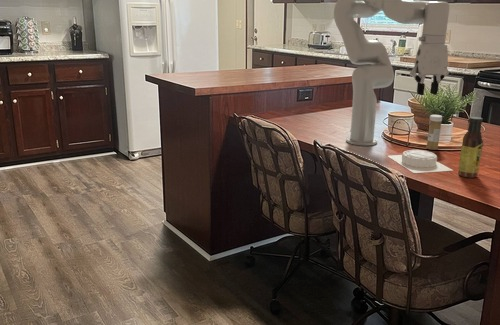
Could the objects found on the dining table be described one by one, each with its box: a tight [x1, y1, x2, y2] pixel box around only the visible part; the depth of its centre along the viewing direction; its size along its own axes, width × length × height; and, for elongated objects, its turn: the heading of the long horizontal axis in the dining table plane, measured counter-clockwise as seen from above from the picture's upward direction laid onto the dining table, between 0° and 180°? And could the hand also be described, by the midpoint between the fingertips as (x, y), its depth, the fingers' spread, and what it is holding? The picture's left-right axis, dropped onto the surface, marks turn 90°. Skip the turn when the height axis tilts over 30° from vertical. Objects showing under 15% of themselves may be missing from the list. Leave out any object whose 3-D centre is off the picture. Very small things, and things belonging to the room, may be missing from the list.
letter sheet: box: [387, 154, 454, 174], centre depth 177 cm, size 20×15×1 cm
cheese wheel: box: [401, 149, 438, 168], centre depth 177 cm, size 12×12×4 cm
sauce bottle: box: [458, 116, 484, 179], centre depth 162 cm, size 6×6×20 cm
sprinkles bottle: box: [425, 114, 443, 151], centre depth 193 cm, size 5×5×13 cm
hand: (426, 93), depth 169 cm, fingers open, 4 cm apart
